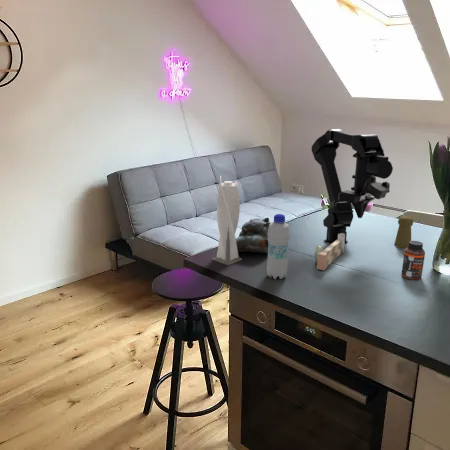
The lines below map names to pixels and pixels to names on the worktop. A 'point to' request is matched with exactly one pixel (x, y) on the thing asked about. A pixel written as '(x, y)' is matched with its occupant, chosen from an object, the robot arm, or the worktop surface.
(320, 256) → the light brown wooden plank
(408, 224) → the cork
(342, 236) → the gate posts
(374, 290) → the worktop surface
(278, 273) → the bottle
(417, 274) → the supplement bottle
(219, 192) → the skyscraper
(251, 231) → the grey lumpy mass
